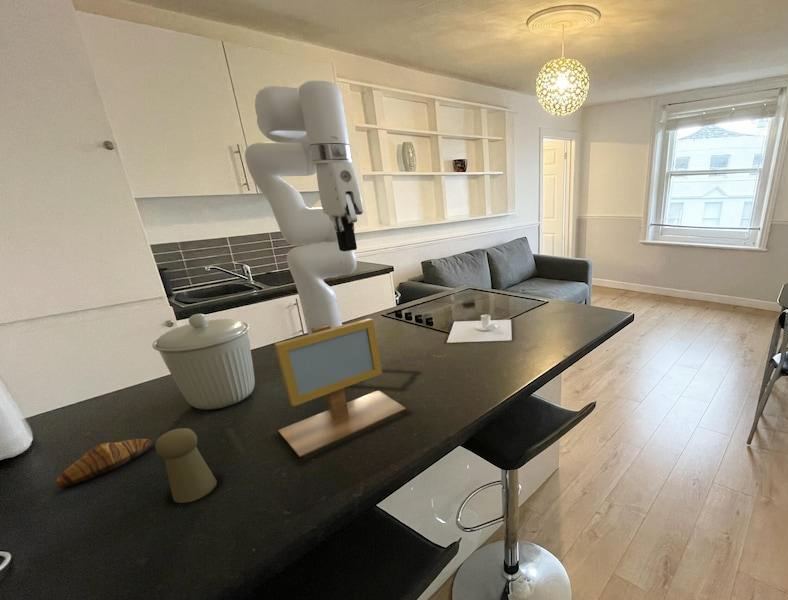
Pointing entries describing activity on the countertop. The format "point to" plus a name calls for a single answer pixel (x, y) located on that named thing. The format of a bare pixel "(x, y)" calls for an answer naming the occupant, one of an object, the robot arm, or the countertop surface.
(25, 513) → the countertop surface
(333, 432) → the display stand
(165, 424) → the countertop surface
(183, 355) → the canister
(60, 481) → the croissant
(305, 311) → the robot arm
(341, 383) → the picture frame
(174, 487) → the cork
